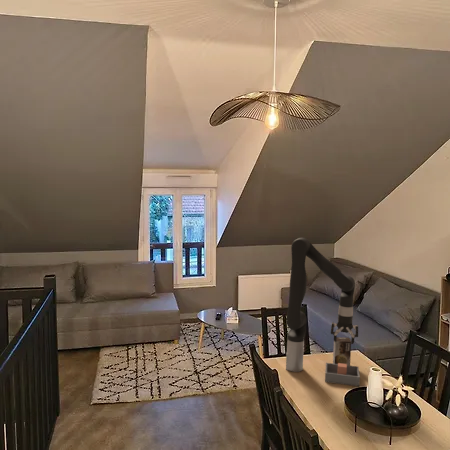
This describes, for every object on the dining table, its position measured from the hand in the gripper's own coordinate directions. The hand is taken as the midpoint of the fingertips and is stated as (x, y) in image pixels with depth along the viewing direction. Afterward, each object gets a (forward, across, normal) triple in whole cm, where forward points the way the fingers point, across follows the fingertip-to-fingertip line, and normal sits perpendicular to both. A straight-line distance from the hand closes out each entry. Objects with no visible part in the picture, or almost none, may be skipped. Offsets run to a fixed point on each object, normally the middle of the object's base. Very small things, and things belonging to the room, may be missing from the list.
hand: (343, 342), depth 236 cm
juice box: (+20, 0, 0) cm, 20 cm away
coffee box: (+20, 0, +17) cm, 26 cm away
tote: (+20, 0, 0) cm, 20 cm away
